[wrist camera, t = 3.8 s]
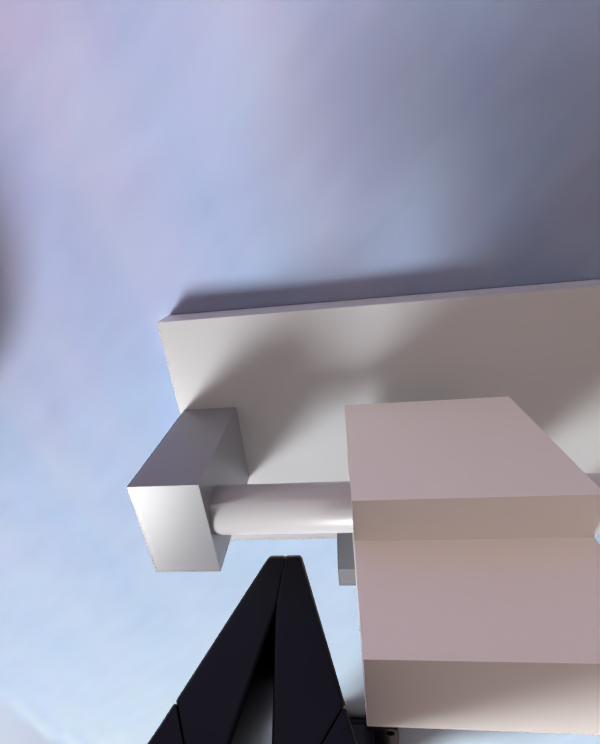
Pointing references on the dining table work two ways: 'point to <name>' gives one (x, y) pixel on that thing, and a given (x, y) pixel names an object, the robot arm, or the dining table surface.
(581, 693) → the white slider block
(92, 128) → the dining table surface
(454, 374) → the slider rail board
